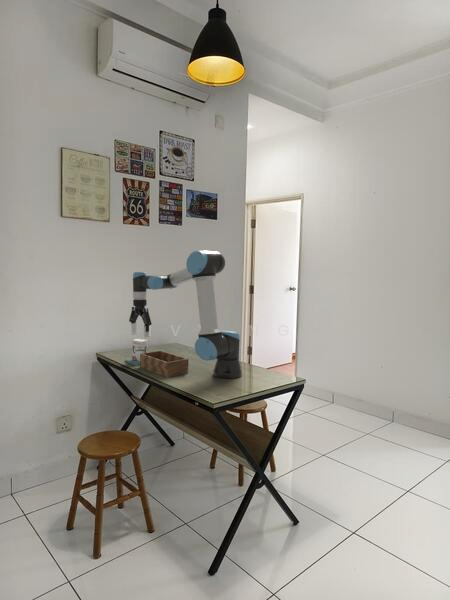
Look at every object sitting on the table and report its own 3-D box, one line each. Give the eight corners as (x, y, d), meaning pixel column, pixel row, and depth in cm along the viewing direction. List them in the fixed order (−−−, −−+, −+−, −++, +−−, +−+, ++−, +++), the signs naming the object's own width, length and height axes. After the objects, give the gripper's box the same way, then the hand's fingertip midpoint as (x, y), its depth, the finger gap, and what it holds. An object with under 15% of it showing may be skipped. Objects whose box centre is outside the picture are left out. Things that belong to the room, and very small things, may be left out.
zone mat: (154, 362, 241) (154, 360, 241) (135, 365, 233) (135, 363, 233) (143, 358, 250) (143, 356, 250) (125, 361, 242) (125, 359, 242)
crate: (188, 372, 221) (188, 358, 220) (166, 377, 211) (167, 362, 211) (160, 363, 239) (160, 350, 239) (140, 367, 230) (140, 353, 229)
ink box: (131, 360, 241) (131, 339, 239) (137, 358, 245) (137, 338, 244) (143, 362, 236) (143, 341, 235) (148, 360, 241) (149, 340, 240)
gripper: (157, 300, 232) (157, 337, 233) (134, 297, 250) (134, 332, 251) (146, 300, 226) (146, 339, 228) (123, 297, 245) (123, 333, 246)
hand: (140, 335), depth 240 cm, fingers open, 13 cm apart
